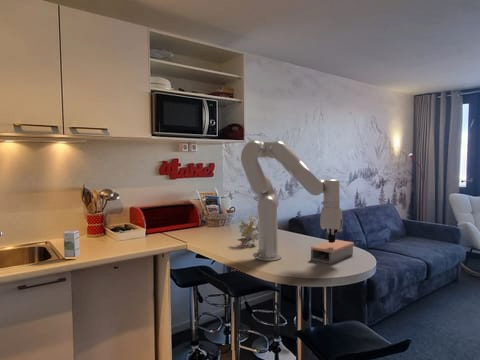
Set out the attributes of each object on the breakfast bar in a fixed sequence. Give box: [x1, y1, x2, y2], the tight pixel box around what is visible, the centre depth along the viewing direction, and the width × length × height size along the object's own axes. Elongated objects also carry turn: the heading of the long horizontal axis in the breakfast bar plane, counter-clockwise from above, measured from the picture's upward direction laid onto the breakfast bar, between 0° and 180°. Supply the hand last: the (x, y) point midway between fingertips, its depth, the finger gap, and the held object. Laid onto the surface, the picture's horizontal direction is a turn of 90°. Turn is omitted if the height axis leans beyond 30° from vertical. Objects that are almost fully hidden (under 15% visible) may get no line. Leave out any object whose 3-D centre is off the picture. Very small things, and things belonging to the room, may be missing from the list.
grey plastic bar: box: [321, 252, 329, 259], centre depth 170 cm, size 18×2×2 cm, turn 135°
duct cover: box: [310, 239, 355, 253], centre depth 169 cm, size 22×12×1 cm, turn 135°
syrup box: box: [62, 229, 81, 258], centre depth 176 cm, size 6×6×14 cm
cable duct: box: [310, 245, 354, 265], centre depth 170 cm, size 22×11×5 cm, turn 135°
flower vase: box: [238, 215, 259, 248], centre depth 206 cm, size 13×18×25 cm
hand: (331, 242), depth 164 cm, fingers closed
